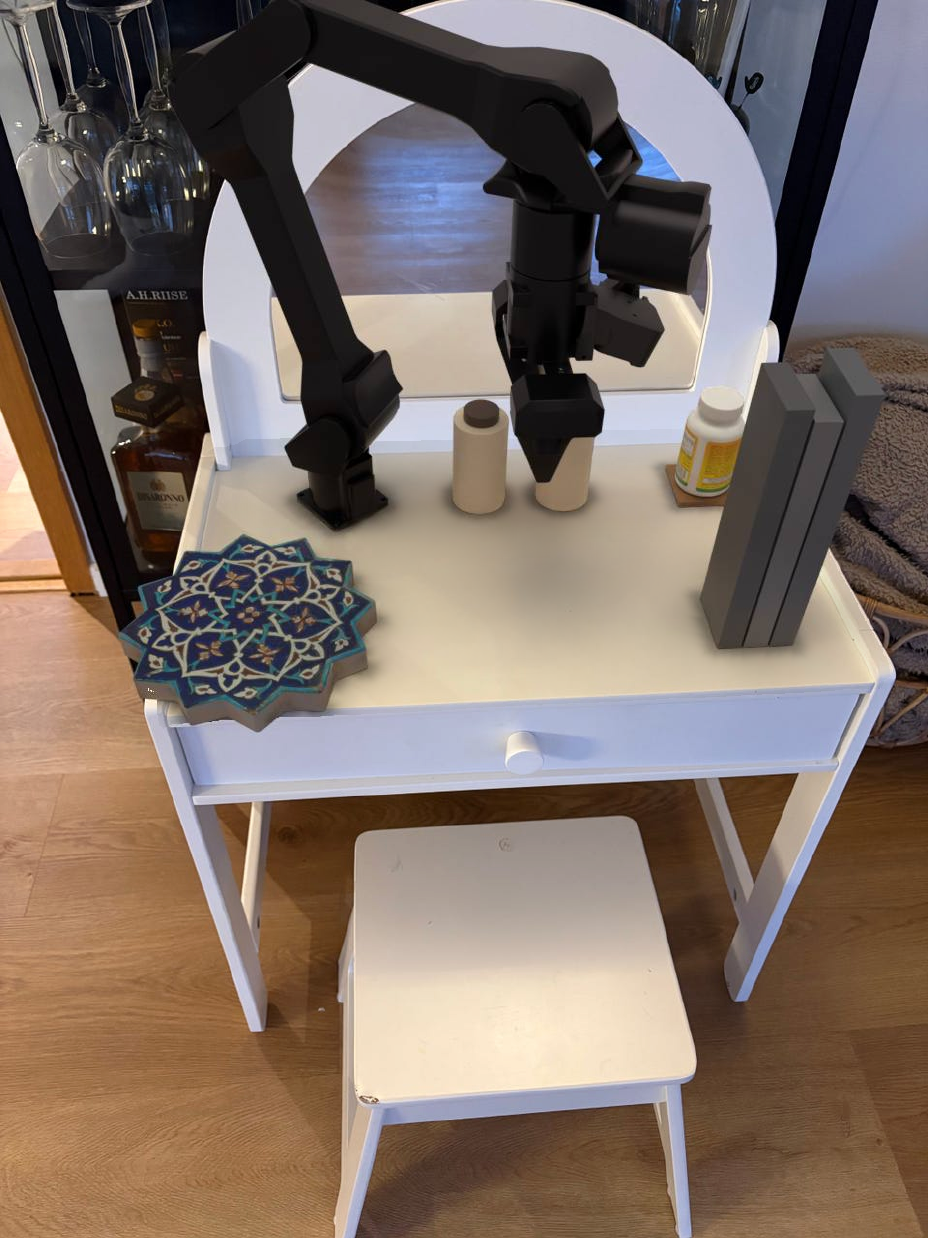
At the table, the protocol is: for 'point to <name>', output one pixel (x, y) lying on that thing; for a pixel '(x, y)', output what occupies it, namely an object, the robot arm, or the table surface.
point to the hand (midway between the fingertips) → (535, 447)
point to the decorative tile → (249, 632)
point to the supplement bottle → (711, 442)
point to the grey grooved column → (787, 496)
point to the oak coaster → (689, 499)
